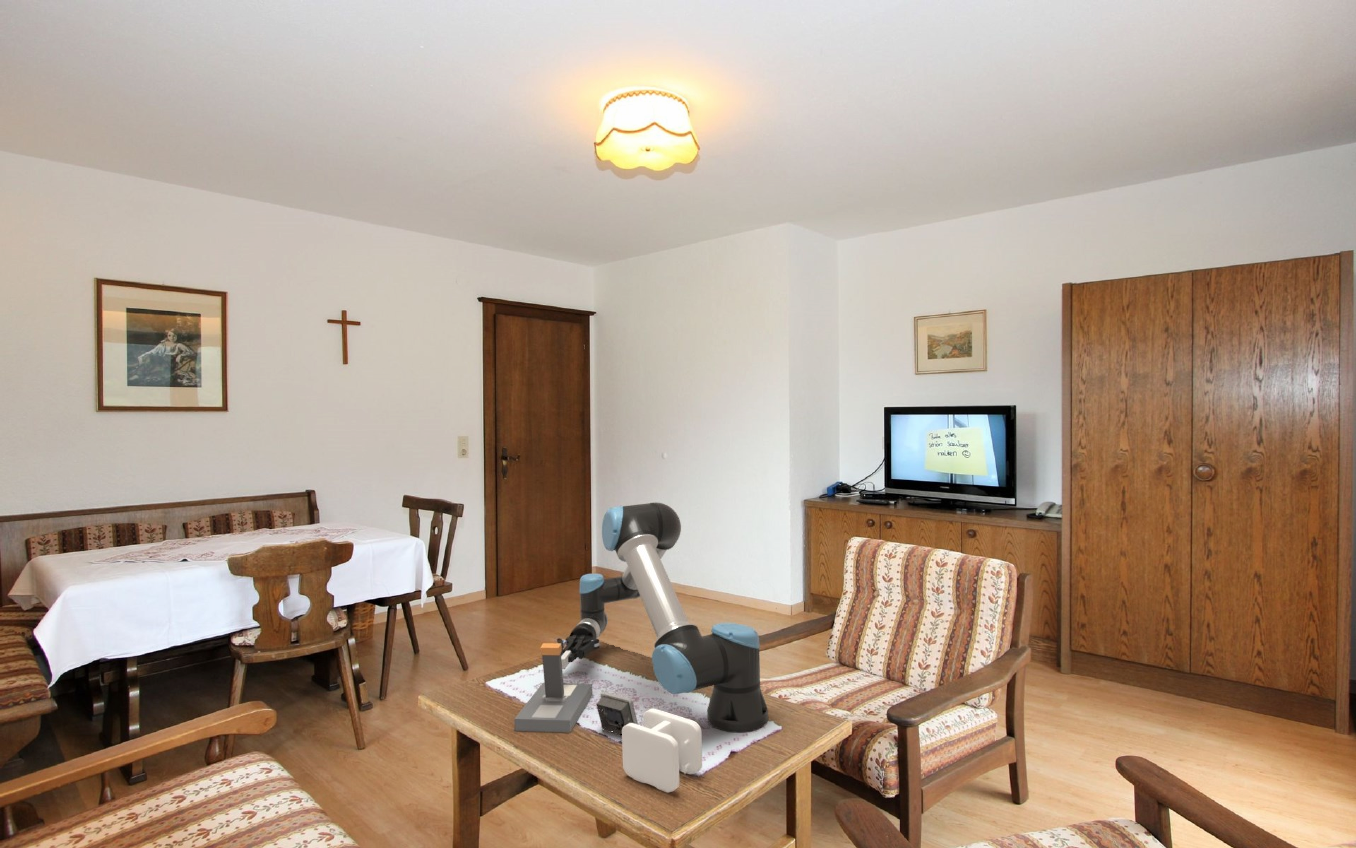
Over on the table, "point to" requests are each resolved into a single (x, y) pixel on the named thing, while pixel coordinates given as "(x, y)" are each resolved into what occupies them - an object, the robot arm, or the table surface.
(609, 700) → the electrical switch
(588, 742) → the table surface
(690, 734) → the cable organizer
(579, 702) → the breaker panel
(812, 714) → the table surface
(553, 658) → the breaker lever
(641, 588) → the robot arm
